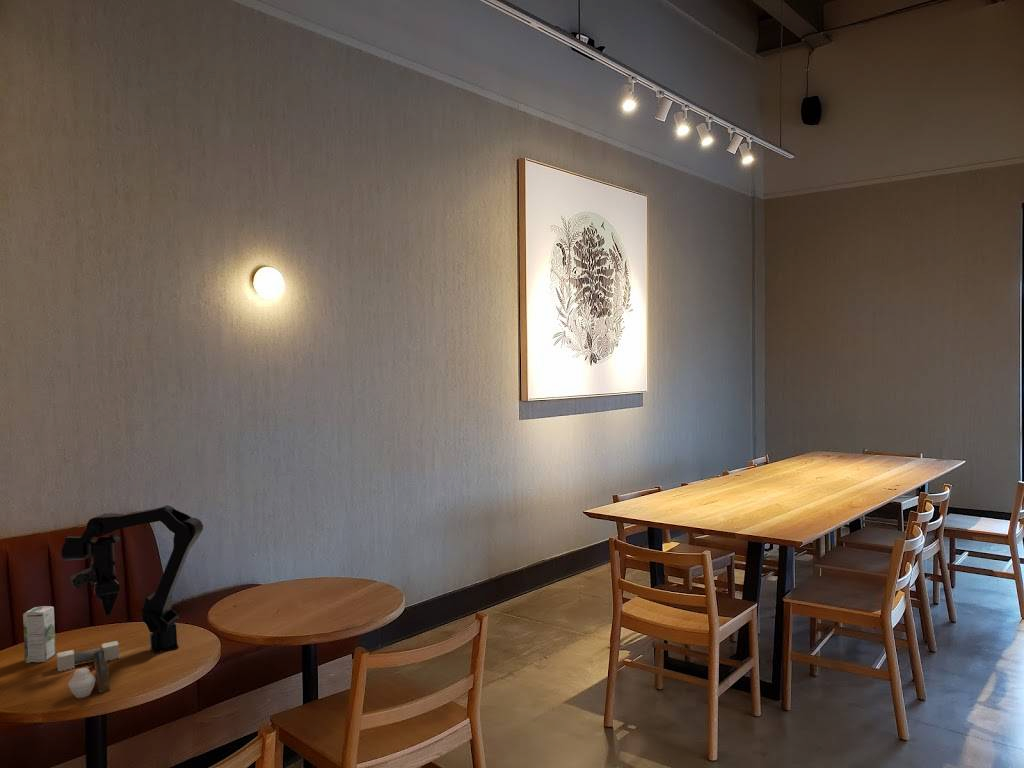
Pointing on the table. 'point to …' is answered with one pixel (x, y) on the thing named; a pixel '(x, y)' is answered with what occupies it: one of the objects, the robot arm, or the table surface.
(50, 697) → the table surface
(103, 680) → the dark brown block
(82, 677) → the muffin
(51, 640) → the syrup box
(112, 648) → the square-ended dumbbell
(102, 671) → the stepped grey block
